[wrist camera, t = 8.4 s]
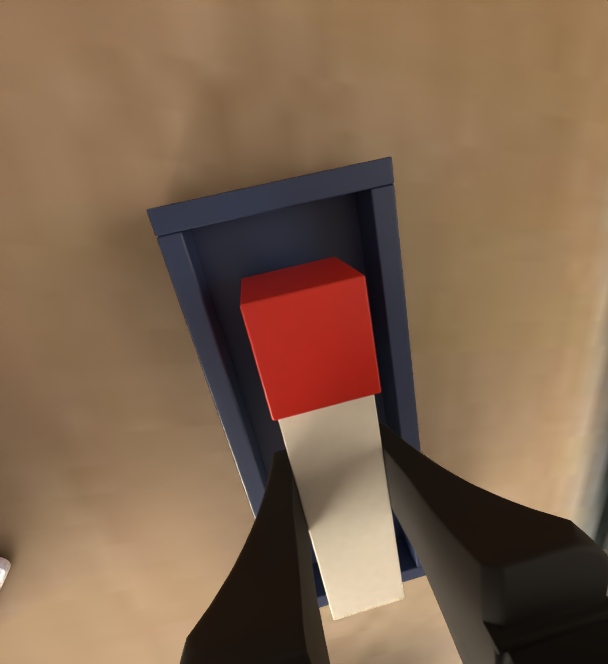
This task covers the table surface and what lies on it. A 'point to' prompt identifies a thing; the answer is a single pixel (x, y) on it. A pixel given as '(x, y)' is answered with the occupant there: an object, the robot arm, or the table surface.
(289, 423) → the marker
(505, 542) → the robot arm
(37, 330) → the table surface
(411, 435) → the tray
